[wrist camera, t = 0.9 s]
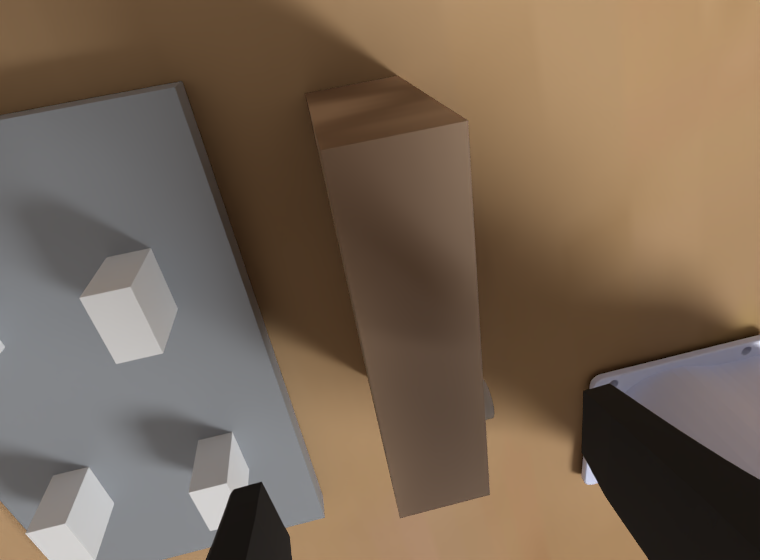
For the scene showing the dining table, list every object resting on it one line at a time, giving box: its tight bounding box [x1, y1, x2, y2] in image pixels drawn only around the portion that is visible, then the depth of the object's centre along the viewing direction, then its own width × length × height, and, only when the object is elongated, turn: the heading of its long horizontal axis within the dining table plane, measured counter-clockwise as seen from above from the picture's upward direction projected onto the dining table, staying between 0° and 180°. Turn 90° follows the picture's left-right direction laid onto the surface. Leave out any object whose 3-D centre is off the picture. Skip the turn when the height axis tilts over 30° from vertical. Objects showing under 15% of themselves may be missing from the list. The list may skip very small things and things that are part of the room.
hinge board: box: [0, 81, 325, 560], centre depth 18 cm, size 12×20×4 cm, turn 8°
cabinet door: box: [305, 76, 494, 518], centre depth 16 cm, size 4×12×7 cm, turn 8°
